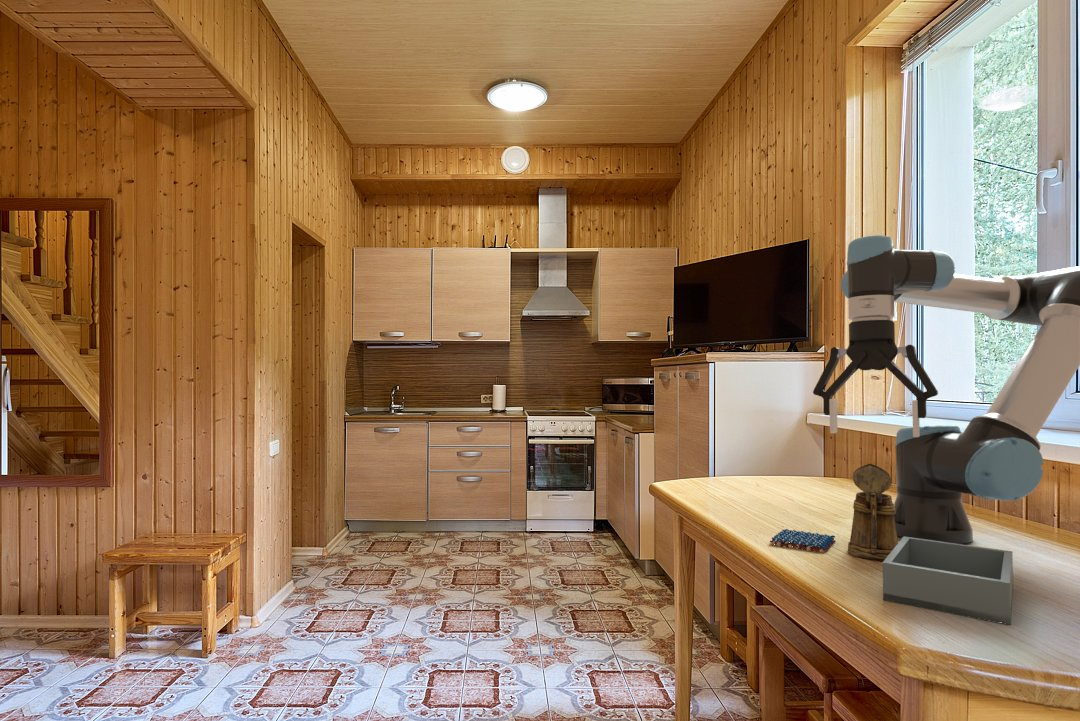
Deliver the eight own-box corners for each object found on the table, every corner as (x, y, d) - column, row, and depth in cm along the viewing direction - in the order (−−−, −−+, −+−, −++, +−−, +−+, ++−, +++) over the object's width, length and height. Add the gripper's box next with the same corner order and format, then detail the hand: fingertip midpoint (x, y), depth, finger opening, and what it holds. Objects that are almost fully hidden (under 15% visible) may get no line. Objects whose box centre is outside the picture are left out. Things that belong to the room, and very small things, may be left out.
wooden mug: (843, 563, 110) (841, 461, 110) (849, 545, 121) (848, 454, 122) (900, 571, 105) (899, 465, 106) (901, 552, 117) (900, 457, 117)
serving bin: (904, 568, 107) (903, 536, 107) (1013, 586, 97) (1012, 551, 97) (883, 599, 91) (882, 562, 91) (1010, 625, 82) (1009, 583, 82)
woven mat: (781, 536, 130) (781, 527, 130) (836, 544, 124) (836, 534, 124) (767, 547, 122) (767, 537, 122) (826, 556, 115) (825, 545, 115)
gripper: (795, 322, 119) (797, 432, 118) (949, 314, 104) (953, 440, 103) (805, 325, 125) (807, 430, 124) (953, 317, 110) (956, 436, 109)
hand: (873, 434), depth 114 cm, fingers open, 13 cm apart
